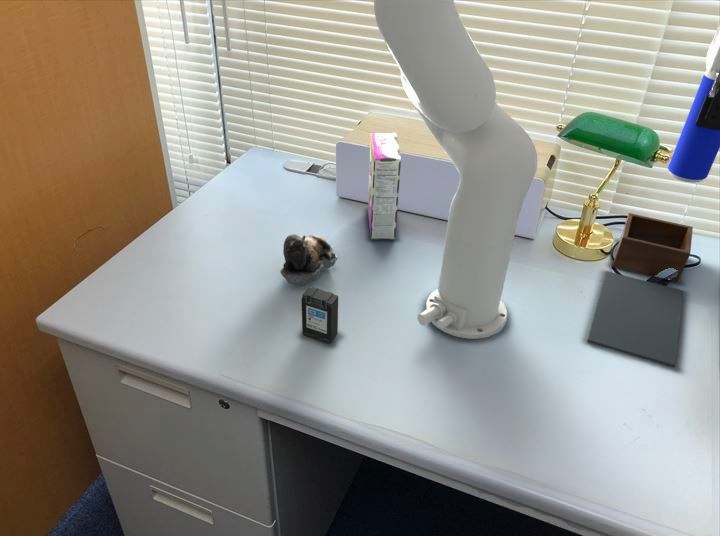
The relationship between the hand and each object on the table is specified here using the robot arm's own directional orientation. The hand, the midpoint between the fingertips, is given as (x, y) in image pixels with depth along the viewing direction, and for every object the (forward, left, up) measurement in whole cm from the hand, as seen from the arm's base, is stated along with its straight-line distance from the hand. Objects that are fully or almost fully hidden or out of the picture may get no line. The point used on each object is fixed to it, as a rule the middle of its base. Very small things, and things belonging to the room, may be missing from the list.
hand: (708, 118), depth 85 cm
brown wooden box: (+10, +4, -30) cm, 32 cm away
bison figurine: (-38, +40, -30) cm, 62 cm away
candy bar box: (-17, +44, -30) cm, 56 cm away
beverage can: (0, 0, -9) cm, 9 cm away
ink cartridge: (-47, +27, -30) cm, 62 cm away
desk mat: (-6, -2, -30) cm, 31 cm away
